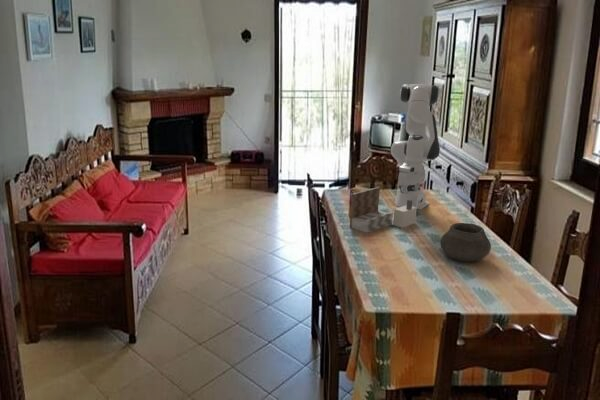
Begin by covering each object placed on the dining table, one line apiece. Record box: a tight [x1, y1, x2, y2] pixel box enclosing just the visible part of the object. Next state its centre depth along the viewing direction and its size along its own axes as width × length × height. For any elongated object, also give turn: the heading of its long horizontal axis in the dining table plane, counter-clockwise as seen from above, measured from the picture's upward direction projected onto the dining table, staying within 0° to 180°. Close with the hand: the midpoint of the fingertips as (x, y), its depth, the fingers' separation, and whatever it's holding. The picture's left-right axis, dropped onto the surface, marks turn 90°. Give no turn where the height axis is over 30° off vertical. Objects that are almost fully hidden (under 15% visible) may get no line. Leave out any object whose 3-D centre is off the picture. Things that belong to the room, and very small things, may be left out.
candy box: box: [348, 187, 364, 216], centre depth 286 cm, size 9×4×15 cm, turn 39°
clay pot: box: [439, 222, 492, 263], centre depth 233 cm, size 22×21×15 cm
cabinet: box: [392, 199, 418, 229], centre depth 276 cm, size 12×6×14 cm, turn 135°
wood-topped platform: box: [349, 186, 394, 234], centre depth 271 cm, size 22×12×18 cm, turn 135°
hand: (410, 192), depth 271 cm, fingers open, 8 cm apart
